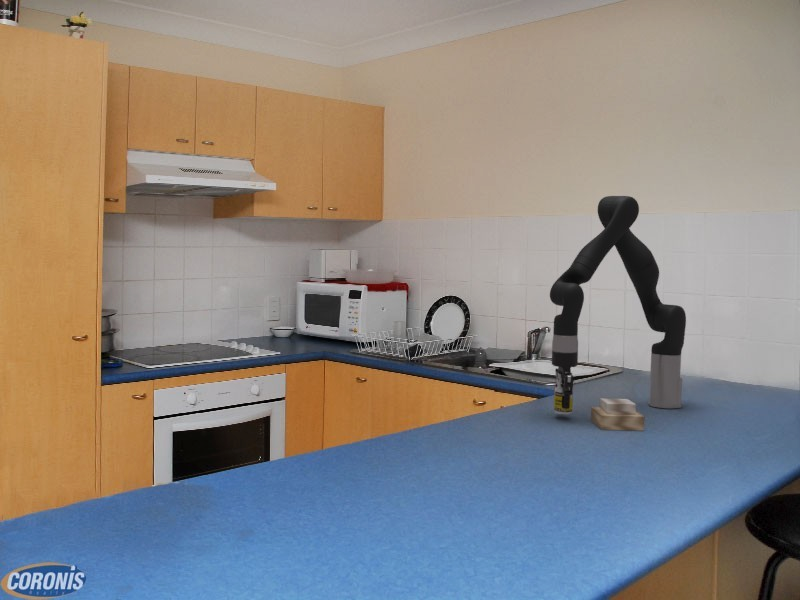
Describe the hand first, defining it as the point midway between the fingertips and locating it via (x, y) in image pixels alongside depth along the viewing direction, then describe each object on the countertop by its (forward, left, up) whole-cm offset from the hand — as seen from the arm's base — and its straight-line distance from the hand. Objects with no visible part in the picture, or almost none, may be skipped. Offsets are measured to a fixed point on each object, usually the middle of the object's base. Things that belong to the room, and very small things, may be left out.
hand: (563, 405), depth 232 cm
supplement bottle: (0, 0, -2) cm, 2 cm away
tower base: (-14, +8, -4) cm, 16 cm away
